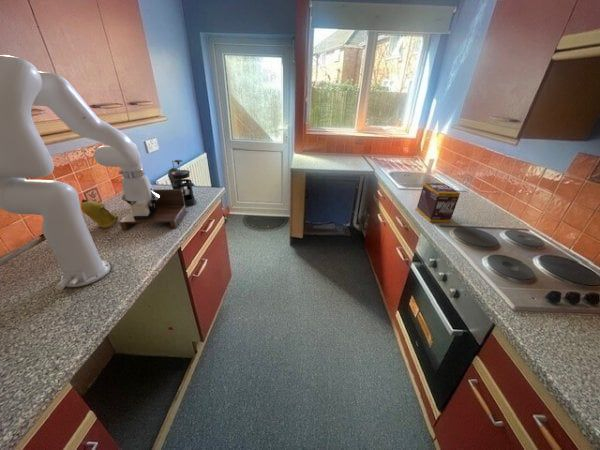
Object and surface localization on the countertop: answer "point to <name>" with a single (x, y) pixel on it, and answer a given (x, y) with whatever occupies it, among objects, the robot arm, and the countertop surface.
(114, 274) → the countertop surface
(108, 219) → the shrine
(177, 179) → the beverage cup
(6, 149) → the robot arm
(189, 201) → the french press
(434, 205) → the supplement box
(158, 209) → the shoe shelf
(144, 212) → the beige cuboid
